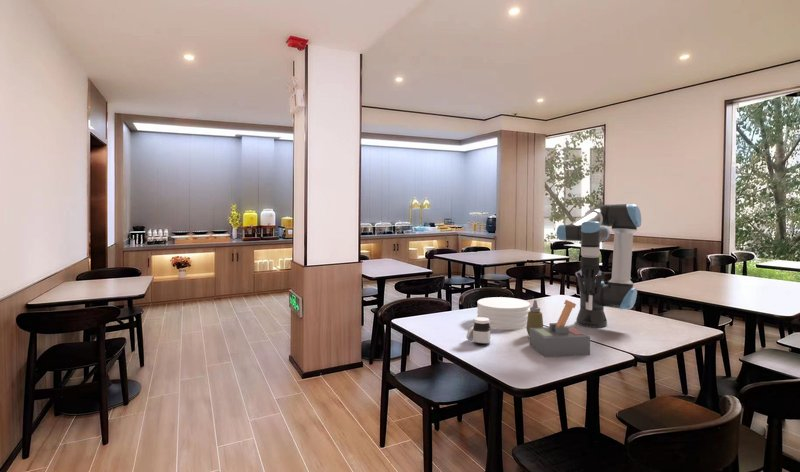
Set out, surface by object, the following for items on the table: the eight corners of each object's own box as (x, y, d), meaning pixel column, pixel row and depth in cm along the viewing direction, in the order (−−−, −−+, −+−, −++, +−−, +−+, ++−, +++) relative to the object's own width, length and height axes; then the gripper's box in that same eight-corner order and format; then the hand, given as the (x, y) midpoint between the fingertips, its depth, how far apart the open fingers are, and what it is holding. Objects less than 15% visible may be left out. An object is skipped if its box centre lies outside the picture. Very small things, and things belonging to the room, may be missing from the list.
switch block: (570, 343, 196) (571, 319, 195) (589, 354, 180) (590, 329, 179) (529, 345, 194) (529, 321, 193) (545, 357, 178) (545, 331, 177)
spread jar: (488, 347, 191) (488, 322, 190) (463, 345, 195) (463, 320, 194) (492, 340, 202) (492, 316, 201) (468, 337, 206) (468, 314, 205)
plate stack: (540, 324, 229) (540, 303, 228) (505, 333, 213) (505, 310, 213) (501, 314, 252) (501, 295, 252) (466, 321, 237) (466, 301, 236)
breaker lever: (558, 331, 188) (571, 302, 188) (562, 333, 184) (576, 304, 184) (552, 328, 188) (565, 299, 188) (556, 331, 184) (570, 301, 184)
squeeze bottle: (534, 340, 201) (535, 302, 200) (522, 335, 208) (523, 299, 207) (547, 337, 205) (547, 300, 204) (534, 333, 212) (535, 298, 211)
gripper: (599, 255, 190) (597, 307, 192) (571, 255, 189) (570, 307, 190) (609, 257, 183) (607, 310, 184) (580, 257, 181) (579, 311, 183)
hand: (588, 309), depth 187 cm, fingers closed
